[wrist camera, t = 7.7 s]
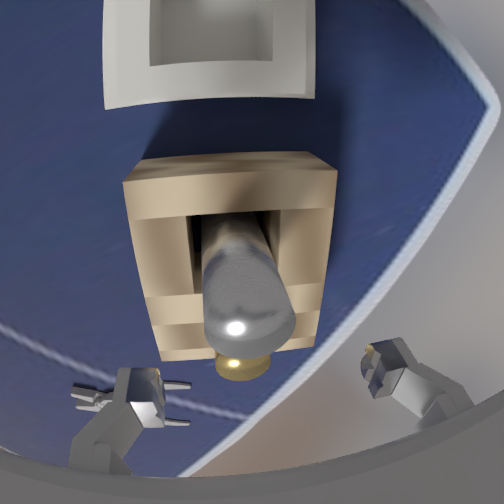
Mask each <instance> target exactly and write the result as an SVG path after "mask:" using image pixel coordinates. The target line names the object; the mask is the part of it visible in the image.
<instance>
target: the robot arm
mask: <svg viewBox="0 0 504 504" xmlns="http://www.w3.org/2000/svg"><path fill="white" fill-rule="evenodd" d="M365 352H366V355H365V356H364V357H363V358H362V361H361V372H362V375H363V377H364V379H365V380H367V381H368V382H369V386H368V388H369V390H370V392H371V394H372V396H373V398H374V399H376V398H380V397H384V396H388V395H392V397H394V398H395V399H396V400H398V401H399V402H400V403H401V404H403V405H404V406H405V407H407V408H408V409H409V410H410V411H412V412H413V413H414V414H416V415H417V416H418V417H420V418H421V420H420V421H419V422H418V424H417V425H416V426H415V431H416V433H414V434H411V435H408V436H406V437H403V438H401V439H398V440H395V441H392V442H389V443H386V444H383V445H380V446H377V447H374V448H371V449H367V450H364V451H361V452H357V453H354V454H350V455H346V456H342V457H339V458H334V459H331V460H327V461H322V462H317V463H313V464H308V465H303V466H298V467H292V468H286V469H280V470H273V471H267V472H259V473H250V474H240V475H229V476H214V477H190V478H189V477H144V476H132V470H131V469H130V468H129V467H128V466H127V465H126V464H125V463H124V461H123V460H122V459H123V457H124V456H125V454H126V453H127V452H128V450H129V449H130V447H131V446H132V444H133V443H134V442H135V440H136V439H137V437H138V436H139V434H140V433H141V432H142V430H143V428H145V427H164V424H165V412H164V409H163V406H164V404H165V399H166V396H165V387H164V383H163V381H162V380H161V379H160V372H159V369H158V368H119V370H118V372H117V377H116V382H115V387H114V392H113V398H112V402H108V403H107V404H106V405H105V406H104V407H103V408H102V409H101V410H100V411H99V412H98V413H97V414H96V415H95V416H94V417H93V418H92V419H91V420H90V421H89V422H88V423H87V424H86V425H85V426H84V428H83V429H82V430H81V431H80V432H79V433H78V434H77V435H76V436H75V437H74V438H73V439H72V444H71V449H70V455H69V460H68V466H67V467H64V466H59V465H54V464H50V463H45V462H41V461H37V460H33V459H29V458H25V457H22V456H18V455H15V454H12V453H9V452H5V451H2V450H0V504H504V390H502V391H500V392H499V393H497V394H495V395H494V396H492V397H490V398H488V399H486V400H485V401H483V402H481V403H479V404H477V405H474V403H473V402H472V400H471V399H470V397H469V395H468V394H467V393H466V391H465V389H464V388H463V386H462V385H460V384H459V383H457V382H455V381H453V380H451V379H450V378H448V377H446V376H444V375H442V374H441V373H438V372H437V371H435V370H433V369H431V368H430V367H428V366H426V365H424V364H422V363H418V362H417V360H416V359H415V357H414V356H413V354H412V353H411V351H410V350H409V348H408V347H407V345H406V343H405V342H404V340H403V339H402V338H400V337H398V338H394V339H390V340H384V341H380V342H375V343H371V344H368V345H367V346H366V349H365Z"/></svg>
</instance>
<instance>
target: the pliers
mask: <svg viewBox="0 0 504 504" xmlns="http://www.w3.org/2000/svg"><path fill="white" fill-rule="evenodd" d="M163 383H164V387H165V389H190V384H186V383H178V382H163ZM71 396H73V397H76V398H79V399H77V401H76V406H75V407H76V408H77V409H82V410H89V411H97V412H99V411H100V410H101V409H102V408H103V407H104V406H105V405H106V404H107V403H108V402H112V398H113V392H109V393H108V394H106V393H103V392H99V391H95V390H89V389H84V388H79V387H74V386H73V387H72V391H71ZM164 425H175V426H180V425H189V421H178V420H170V419H165V424H164Z"/></svg>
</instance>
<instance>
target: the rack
mask: <svg viewBox="0 0 504 504" xmlns="http://www.w3.org/2000/svg"><path fill="white" fill-rule="evenodd" d="M103 85H104V103H105V110H107V109H113V108H119V107H126V106H133V105H140V104H148V103H156V102H165V101H176V100H188V99H202V98H223V97H288V98H308V99H315V0H104V10H103Z"/></svg>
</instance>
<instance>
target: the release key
mask: <svg viewBox="0 0 504 504" xmlns="http://www.w3.org/2000/svg"><path fill="white" fill-rule="evenodd" d="M214 354H215V365H216V370H217V372H218V373H219V374H220V375H221V376H222V377H224V378H226V379H229V380H233V381H245V380H250V379H254V378H256V377H258V376H260V375H262V374H263V373H264V372H265V371H266V370H267V369H268V368H269V366H270V363H271V358H270V355H269V354H268V355H265V356H262V357H259V358H253V359H235V358H230V357H227V356H224V355H222V354H220V353H218V352H217V351H214Z"/></svg>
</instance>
